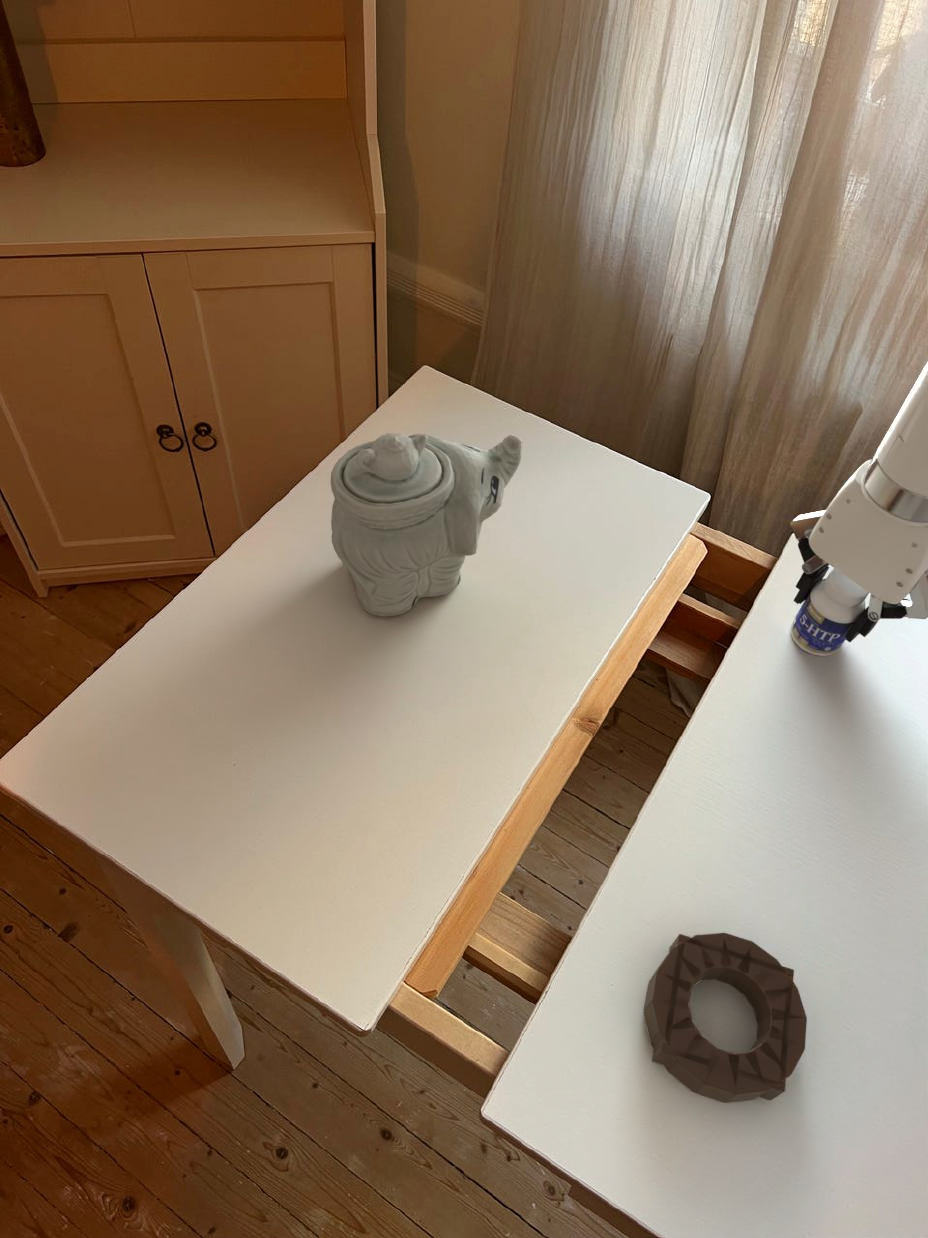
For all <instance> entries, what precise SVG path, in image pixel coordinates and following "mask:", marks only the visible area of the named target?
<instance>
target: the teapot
mask: <svg viewBox="0 0 928 1238" xmlns="http://www.w3.org/2000/svg"><path fill="white" fill-rule="evenodd" d="M522 457H523V442H522V439H521V438H520V437H519V436H518V435H515V434H509V435H507V436H505V438H503V440H502V441H501V442H499V443H497V444H496V445H494V446H493V447H491V448H489V449H481V448H479V447H476V446H473V445H470V444H468V443H463V442H453V441H449V440H446V439H444V438H440V437H438V436H435V435H431V434H426V433H414V434H411V435H409V436H407V435H405V434H402V433H398V432H387V433H384V434H382V435H380V436H379V437H377V438H376V439H375V440H371V441H367V442H364V443H362V444H359V445H356V446H354V447H352V448H351V449H348V451H346V453H344V454H343V455H342V456H341V457H340V458H339V459H337V461H336V462H335V464H334V465H333V467H332V470H331V472H330V482H329V483H330V488H331V492H332V495H333V498H334V500H333V503H332V507H331V519H330V526H331V544H332V547H333V549H334V551H335V554H336V556H337V557H338V559H339V560H340V561H341V562H342V564H343V565H344V566H345V568H346V569H347V570H348V572H349V576H350V578H351V580H352V581H353V584H354V585H355V587H356V592H357V597H358V600H359V603H360V605H361V606H362V608H363V609H364V610H365V611H366V612H367V613H369V614H371V615H373V616H379V617H394V616H395V617H396V616H399V615H402V614H404V613H406V612H408V611H410V610H411V609H412V608H413V607H415V606H416V604H417V602H418V601H419V600H420V599H421V598H427V597H440V596H443V595H447V594H449V593H451V592H453V591H454V590H455V589H456V588H457V587H458V586H459V585H460V583H461V581H462V574H461V573H462V572H461V569H462V567H463V564H464V562H465V560H466V556H473V555H476V554H477V550H478V544H479V539H480V534H481V531H482V530H481V529H482V525H483V522H484V521H486V520H487V519H489V518H490V517H492V516H493V515H494V514H495V513H497V512H498V511H499V510H500V508H501V507H502V505H503V500H504V493H505V489H506V487H507V486H508V484H509V482H510V481H511V480H512V478H513V477H514V475H515V474H516V472H517V470H518V468H519V466H520V464H521V460H522Z"/></svg>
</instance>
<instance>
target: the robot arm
mask: <svg viewBox="0 0 928 1238" xmlns="http://www.w3.org/2000/svg"><path fill="white" fill-rule="evenodd" d="M789 525H790V529H791V530H792V532H793V535H794V537H795V539H796V540H797V542H798V543H797V547H798V550H799V553H800V556H801V558H802V562H803V563H802V564H801V570H802V571H803V572H802V574H801V576H800V578H799V580H798V581H797V583H796V585H795V588H796V589H798V592H797V594H796V595H795V597H794V599H793V602H794V603H795V604H797V605H801V604H803V603H804V601H805V600H806V598H807V596H808V595H809V593H810V591H811V590H812V588H813V587H814V585H815V584H816V583H817V582H819V581H820V580H822V579H825V576H826V574H827V572H828V571H829V569H830V567H829V566H831V567H832V568H833V569H834V568H835V569H836V570H838V571H839V572H841V573H842V574H843V575H845V576H846V577H848V578H849V579H850V580H852V581H853V582H855V583H856V584H858V585H859V586H860V587H862V588H863V589H865V590H866V591H868V592H869V594H870V597H869V601H868V602H869V603H868V606H866V607H865V610H864V611H863V612H862V613H861V614H860V615H859V616H858V618H857V619H856V621H855V622H854V624H853V625H852V627H851V628H850V630H849V631H848V633H847V634H846V636H845V638H846V640H845V641H847V642H848V643H852V642H853V640H855V638H856V637H858V636H859V635H861V636H862V637H863V638H866V637H867V636H868V635H869V634H870V633H871V632H872V631H873V629H874V628H875V627H876V625H877V624H878V622H879V621H880V620H901V619H903V618H908V619H912V620H913V619H915V620H926V619H928V577H927V576H928V361H927V362H926V364H925V366H924V367H923V369H922V371H921V373H920V375H919V376H918V378H917V380H916V381H915V383H914V385H913V387H912V389H911V390H910V392H909V394H908V395H907V397H906V398H905V401H904V403H903V404H902V406H901V408H900V410H899V411H898V413H897V415H896V417H895V418H894V420H893V422H892V424H891V425H890V427H889V429H888V431H887V432H886V434H885V436H884V438H883V439H882V441H881V443H880V444H879V446H878V448H877V450H876V452H875V453H874V454H873V457H872V458H871V459H868V460H865V462H863V463H862V464H861V465H860V466H859V467H858V468H857V470H855V472H853V474H852V475H851V476H850V477H849V478H848V480H847V481H845V483H844V484H843V486H842V487H841V488H840V489H839V490H838V492H837V494H836V495H835V496H834V498H833V499H832V501H830V503H829V505H828V506H826V509H825V510H819V511H814V512H809V513H805V514H803V513H802V514H798V515H797V516H796V517H795V518H793V519H792V520H791V521H790V523H789ZM908 595H909V596H910V599H908V598H906V597H908Z"/></svg>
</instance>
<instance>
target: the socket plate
mask: <svg viewBox="0 0 928 1238" xmlns="http://www.w3.org/2000/svg"><path fill="white" fill-rule="evenodd" d="M668 949H669V950H668V953H667V954H666V956H665V957H664V958H663V960H662V961H661V963H660V964H659V966H658V967H657V969H656V970H655V971H654V973H653V975H652V976H651V977H650V979H649V981H648V983H647V988H646V994H645V1001H644V1006H643V1015H644V1020H645V1024H646V1029H647V1034H648V1038H649V1042H650V1045H651V1046H652V1048H653V1050H652V1056H651V1062H652V1063H656V1064H659V1065H662V1066H664V1068H665V1070H666V1071H667V1072H668V1073H669V1074H670V1075H671V1076H673V1078H674V1079H676V1080H677V1081H679V1082H680V1083H681V1084H682V1085H683V1086H685V1087H686V1089H689V1091H691V1092H692V1093H694V1094H696V1095H699V1096H703V1097H706V1098H708V1099H712V1100H715V1101H718V1102H721V1103H725V1104H726V1103H727V1104H728V1103H737V1102H746V1101H753V1100H756V1099H757V1098H758V1097H759V1098H762V1099H765V1100H769V1101H772V1100H774V1099H776V1098H777V1097H779V1096H781V1095H782V1094H784V1093H785V1092H786V1083H787V1079H788V1078H789V1077H790V1076H792V1074H793V1072H794V1070H795V1069H796V1067H797V1065H798V1064H799V1061H800V1060H801V1058H802V1057H803V1054H804V1052H805V1049H806V1040H807V1039H806V1036H807V1024H808V1022H807V1021H808V1019H807V1017H808V1016H807V1013H806V1011H805V1007H804V1004H803V1001H802V998H801V994H800V991H799V988H798V986H797V985H796V984H795V982H794V976H795V969H793V968H790V967H786V966H783V965H782V964H781V962H780V961H779V960H778V959H777V958H775V957H774V956H773V955H772V954H770V953H769V952H767V951H766V950H765V949H763V948H762V947H761V946H759V944H757V943H756V942H754V941H752V940H749V939H747V938H743V937H740V936H737V935H734V934H730V933H727V932H713V933H699V934H695V935H693V936H689V935H685V934H681V933H679V934H678V935H677V937H676V938H675V939H674V941H672V943H671V945H670V946H669V948H668ZM713 980H714V981H715V980H716V981H719V982H722V983H725V984H728V985H730V986H732V987H733V988H735V989H736V990H737V991H738V992H740V993H741V994H742V995H743V996H744V997H745V999H746V1000H747V1001H748V1003H749V1005H750V1006H751V1007H752V1009H753V1013H754V1017H755V1021H756V1024H757V1027H756V1028H757V1029H756V1036H755V1037H756V1038H755V1039H756V1040H755V1042H754V1043H753V1044H752V1047H751V1049H750V1050H749V1051H741V1052H739V1051H738V1052H731V1051H728V1050H725V1049H721V1048H718V1047H717V1046H716V1045H714V1044H713V1043H712V1042H711V1041H709V1040H708V1039H707V1038H706V1037H704V1036H703V1035H702V1034H701V1032H700V1030H699V1029H698V1027H697V1025H696V1024H695V1022H694V1020H693V1015H692V1012H691V1007H690V1001H691V994H692V988H693V987H694V985H695V986H696V984H698V983H700V982H702V981H713Z"/></svg>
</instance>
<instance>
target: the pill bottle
mask: <svg viewBox="0 0 928 1238" xmlns="http://www.w3.org/2000/svg"><path fill="white" fill-rule="evenodd" d="M869 594H870V593H869V592H868V591H866V590H865V589H863V588H862V587H860V586H859V585H858V584H856V583H855V582H853V581H852V580H850V579H849V578H848V577H846V576H845V575H843V574H842V573H841V572H839V571H838V570H836V569H835V568H834V567H833V569H832V570H830V572H829V574H828V575H827V576H826V578H823V579H822V580H820V581H819V582H817V583H816V584H815V585H814V587H813V588H812V590H811V591H810V593H809V595H808V596H807V598H806V600H805V601H803V602H802V605H801V606H800V608H799V609H798V611H797V613H796V614H795V616H794V618H793V620H792V621H791V624H790V634H791V637H792V640H793V641H794V643H795V644H796V645H797V646H798V647H799V648H800V649H801V650H803V651H805V652H807V653H809V654H811V655H815V656H821V657H824V656H825V657H826V656H830V655H833V654H835V653H836V652H838V651H839V650H840V649H841V647H842V646H843V644H844V643H845V641H847V640H846V638H845V636H846V634H847V633H848V631H849V630H850V628H851V627H852V625H853V624H854V622H855V621H856V619H857V618H858V616H859V615H860V614H861V613H862V612H863V611H864V610H865V609H866V599H867V597H868V595H869Z"/></svg>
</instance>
